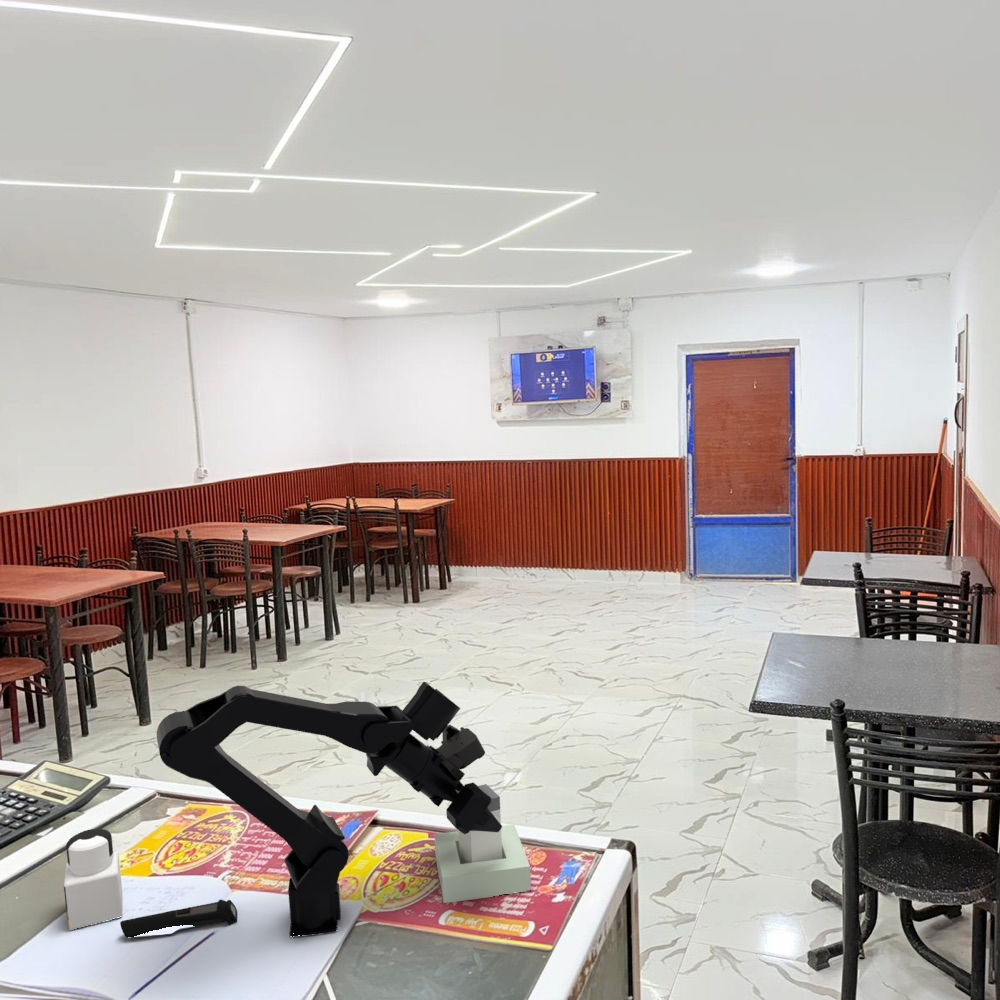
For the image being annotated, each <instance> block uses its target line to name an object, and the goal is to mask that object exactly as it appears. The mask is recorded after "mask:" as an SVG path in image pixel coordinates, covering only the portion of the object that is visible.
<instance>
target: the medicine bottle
mask: <svg viewBox="0 0 1000 1000" xmlns="http://www.w3.org/2000/svg"><path fill="white" fill-rule="evenodd" d="M65 848H66V859H67V862H66V864H65V871H64V872H65V873H64V882H63V892H64V900H65V909H66V918H67V927H68V930H69V931H74V929H75V930H78V929H77V928H79V929H82V928H81V927H83V928H86V927H85V926H87V927H89V926H88V925H91V924H95V923H99V922H103V921H106V920H110V919H113V918H117V917H120V916H122V917H123V915H124V914H123V910H124V909H123V904H124V903H123V885H122V875H121V865H120V856H119V852H118V851H117V850H115V851H114V847H113V837H112V833H111V832H110V831H109V830H107V829H104V828H91V829H86V830H83V831H81V832H78V833H76V834H74V835H73V836H72V837H71V838H69V839H68V841H67V842H66V844H65ZM103 923H104V922H103ZM99 924H100V923H99ZM95 925H96V924H95ZM91 926H92V925H91Z"/></svg>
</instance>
